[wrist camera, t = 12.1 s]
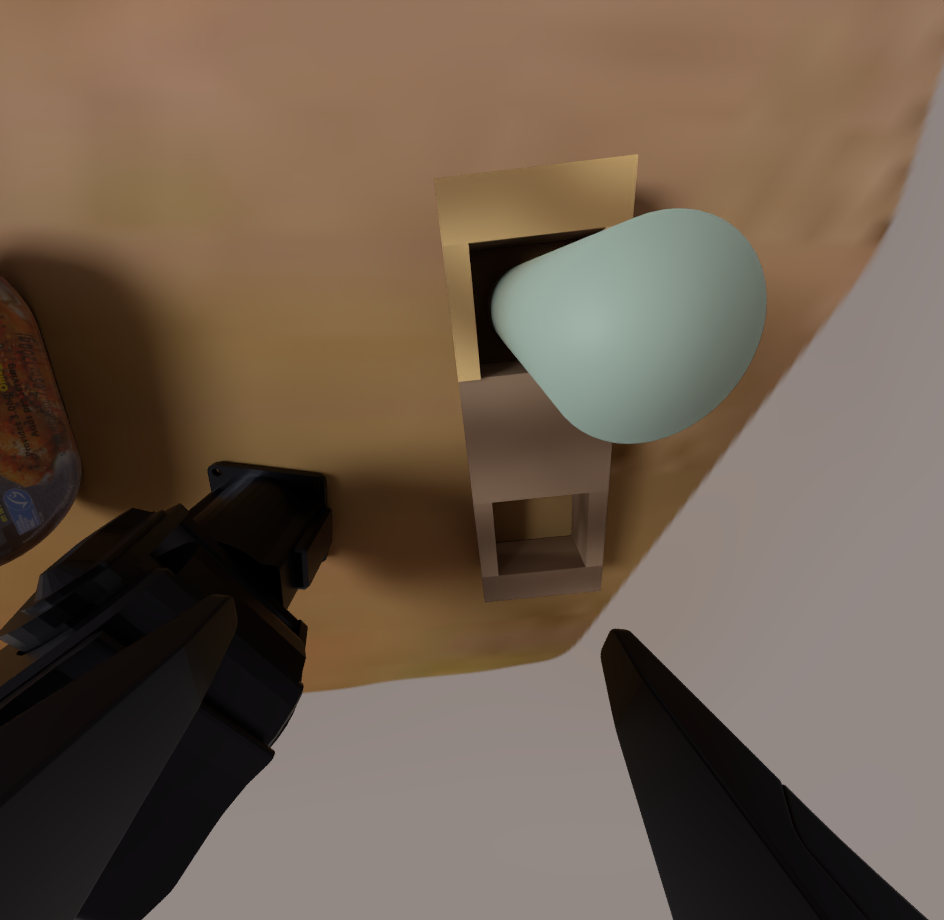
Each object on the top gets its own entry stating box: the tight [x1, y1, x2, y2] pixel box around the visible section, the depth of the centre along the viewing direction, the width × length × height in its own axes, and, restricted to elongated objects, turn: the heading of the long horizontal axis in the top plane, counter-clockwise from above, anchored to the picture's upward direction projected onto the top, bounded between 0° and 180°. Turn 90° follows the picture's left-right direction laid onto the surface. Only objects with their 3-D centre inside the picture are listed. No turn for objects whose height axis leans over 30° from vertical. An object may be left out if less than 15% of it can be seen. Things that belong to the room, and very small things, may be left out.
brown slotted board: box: [434, 154, 638, 602], centre depth 19 cm, size 21×7×3 cm, turn 6°
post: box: [487, 208, 767, 444], centre depth 12 cm, size 4×4×13 cm
